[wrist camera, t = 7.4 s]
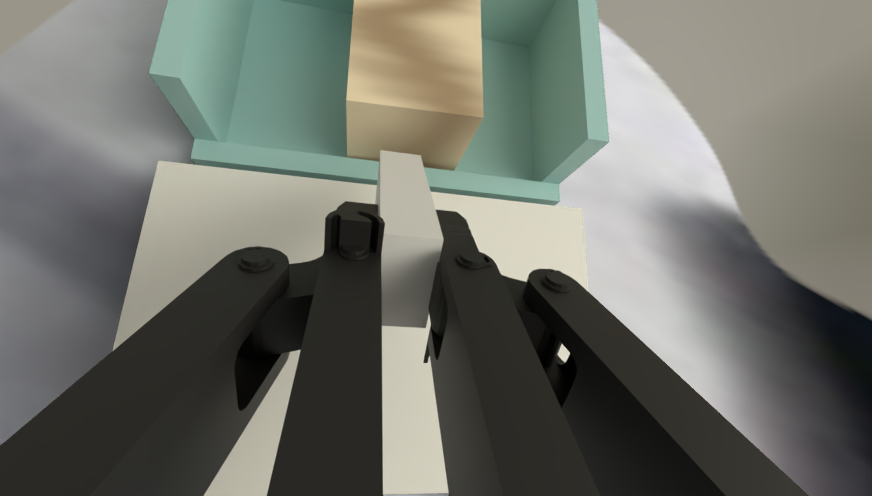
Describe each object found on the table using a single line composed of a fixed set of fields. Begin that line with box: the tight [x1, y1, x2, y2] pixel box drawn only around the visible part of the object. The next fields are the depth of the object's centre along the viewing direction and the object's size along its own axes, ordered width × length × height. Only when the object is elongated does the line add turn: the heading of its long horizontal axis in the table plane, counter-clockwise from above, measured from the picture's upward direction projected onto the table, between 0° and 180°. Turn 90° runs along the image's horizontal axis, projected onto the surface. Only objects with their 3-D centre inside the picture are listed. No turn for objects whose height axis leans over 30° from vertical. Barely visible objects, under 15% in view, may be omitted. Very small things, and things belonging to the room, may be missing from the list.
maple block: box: [346, 0, 484, 171], centre depth 20 cm, size 6×6×9 cm
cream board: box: [112, 160, 588, 496], centre depth 19 cm, size 20×13×2 cm, turn 88°
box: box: [149, 0, 609, 206], centre depth 20 cm, size 18×12×6 cm, turn 88°
